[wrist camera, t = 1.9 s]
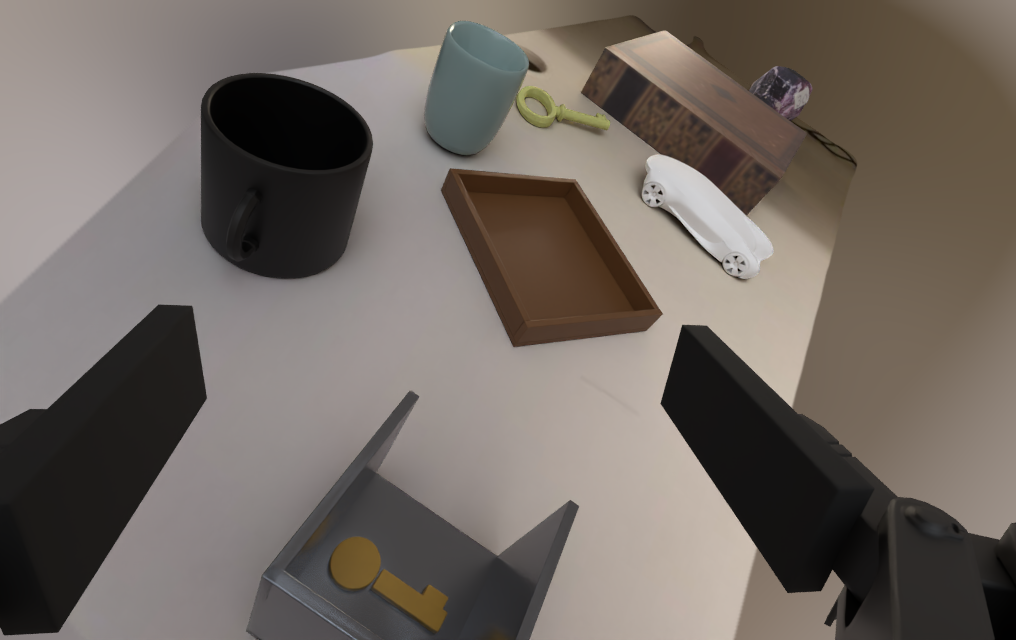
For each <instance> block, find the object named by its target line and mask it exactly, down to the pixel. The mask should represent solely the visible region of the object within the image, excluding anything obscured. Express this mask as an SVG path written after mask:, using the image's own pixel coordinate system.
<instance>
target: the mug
mask: <svg viewBox="0 0 1016 640" xmlns="http://www.w3.org/2000/svg"><path fill="white" fill-rule="evenodd" d="M372 148H373V140H372V134H371V131H370V129H369V127H368V125H367V123H366V122H365V120H364V119H363V118H362V116H361V115H360V114H359V113H358V112H357V111H356V110H355V109H354V108H353V107H352V106H350V105H349V104H348V103H347V102H345V101H344V100H343V99H341V98H339V97H338V96H336V95H335V94H333V93H331V92H329V91H327V90H325V89H323V88H321V87H318V86H316V85H314V84H311V83H308V82H305V81H302V80H299V79H295V78H291V77H287V76H282V75H276V74H266V73H249V74H240V75H235V76H231V77H227V78H225V79H222V80H220V81H218V82H217V83H215V84H213V85H212V86H211V87H210V88H209V89H208V90H207V92H206V93H205V95H204V97H203V99H202V104H201V222H202V228H203V231H204V234H205V236H206V237H207V239H208V241H209V242H210V244H211V245H212V246H213V248H214V249H215V250H216V251H217V252H218V253H219V254H220V255H221V256H223V257H224V258H225V259H226V260H228V261H229V262H231V263H233V264H234V265H236V266H238V267H240V268H242V269H244V270H247V271H249V272H252V273H255V274H259V275H263V276H268V277H275V278H299V277H305V276H310V275H313V274H316V273H319V272H321V271H323V270H325V269H327V268H328V267H330V266H332V265H333V264H334V263H335V262H336V261H337V260H338V259H339V258H340V257H341V256H342V254H343V253H344V251H345V249H346V246H347V242H348V239H349V235H350V231H351V227H352V224H353V220H354V216H355V213H356V209H357V205H358V201H359V198H360V194H361V190H362V186H363V183H364V179H365V175H366V172H367V168H368V164H369V160H370V157H371V153H372Z"/></svg>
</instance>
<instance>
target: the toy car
mask: <svg viewBox="0 0 1016 640" xmlns="http://www.w3.org/2000/svg"><path fill="white" fill-rule="evenodd" d="M645 168H646V172H647V173H648V175H647V176H646V178H645V180H644V184H643V190H642V199H643V201H644V202H645V203H646V204H647V205H648V206H650V207H658V206H659V207H661V208H663V209H665V210H667V211H668V212H670V213H671V214H673V215H674V216H675V217H677V218H678V219H679V220H680V221H681V222H682V224H683V225H684V226H685V227H686V228H687V229H688V231H689V232H690V233H691V234H692V235H693V236H694V237H695V239H696V240H697V241H698V242H699V243H700V244H701V245H702V246H703V247H704V248H705V249H706V250H707V251H708V252H709V253H710V254H711V255H713V256H714V257H715V258H716V259H717V260H719V261H720V262H722V261H723V268H724V270H725V271H726V272H727V273H728V274H730V275H732V276H738V277H739V278H742V279H749V278H752V277H754V276H756V275H757V274H758V273H759V272H760V261H762V260H764V259H767V258H768V257H770V256H771V255H772V254H773V252H774V249H773V245H772V243H771V242H770V240H769V239H768V237H767V236H766V235H765V234H764V233H763V232H762V230H761V229H760V228H759V227H758V226H757V225H756V224H755V223H754V222H753V221H752V220H750V219H749V218H748V217H747V216H746V215H745V214H744V213H743V212H742V211H741V210H740V209H739V208H738V207H737V206H736V205H735V204H734V203H733V202H732V201H731V200H730V199H729V198H728V197H727V196H725V195H724V194H723V193H722V192H721V191H720V190H719V189H718V188H717V187H716V186H715V185H714V184H713V183H712V182H711V181H710V180H709V179H707V178H706V177H705V176H704V175H702V174H701V173H700V172H698V171H697V170H695V169H693V168H692V167H690V166H688V165H686V164H684V163H682V162H680V161H678V160H676V159H673V158H671V157H668V156H665V155H653V156H651V157H649V158H648V159H647V163H646V165H645ZM652 185H656V186H655V188H654V190H653V188H652V187H651V186H652ZM660 190H661V191H662V193H663V195H660V194H659V193H658V192H659V191H660ZM647 192H648V193H649V194H647ZM653 192H654V193H653ZM650 199H651V200H650ZM656 199H658V200H659V201H660V202H659V203H656ZM734 256H738V258H737V259H736V260H735V258H734ZM723 259H724V260H723ZM727 260H728V261H729V262H730V263H727ZM734 262H735V263H734ZM731 268H733V269H731ZM738 268H739V269H740V270H742V271H738Z"/></svg>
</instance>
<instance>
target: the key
mask: <svg viewBox="0 0 1016 640" xmlns="http://www.w3.org/2000/svg"><path fill="white" fill-rule="evenodd" d="M525 97H532V98H535V99H537V100H539V101H540V102H541V103H542V104H543V105H544V106H545V108H546V110H547V112H548V116H541V115H537V114H535V113H533V112H532V111H531V110H530V109H529V108H528V107H527V106H526V104H525V101H524V100H525ZM516 101H517V107H518V109H519V111H520V113H521V115H522V116H523V117H524V118H525V119H526V120H527V121H528V122H529V123H531V124H533V125H535V126H538V127H548V126H550V125H551V124H552V122H553V121H554V119H555V117H557V120H558V121H561V120H562V119H566V120H570V121H574V122H577V123H581V124H585V125H589V126H592V127H596V128H600V129H604V130H608V128H609V126H610V121H609V120H606V117H605V115H601V114H599V113H597V114H596V117H595V116H591V115H587V114H584V113H580V112H576V111H573V110H569V109H566V107H565V105H564V104H562V105H560V107H558V106H555V103H554V101H553V99H552V98H551V96H550V95H549V94H548V93H546V92H545V91H544V90H542V89H540V88H537V87H533V86H527V87H524V88H523V89H521V90H520V92H519V93H518V94H517V97H516Z"/></svg>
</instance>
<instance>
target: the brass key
mask: <svg viewBox="0 0 1016 640" xmlns="http://www.w3.org/2000/svg"><path fill="white" fill-rule="evenodd" d="M380 564H381V559H380V554H379V551H378V549H377V547H376V546H375V545H374V544H373V543H372V542H371V541H370V540H368V539H366V538H363V537H351V538H348V539H346V540H344V541H342V542H341V543H340V544H339V545H338V546H337V547H336V548H335V550H334V551H333V553H332V555H331V557H330V560H329V574H330V577H331V579H332V581H333V582H334V583H335V584H336V585H337V586H338V587H339V588H341V589H343V590H346V591H359V590H362V589H364V588H365V587H367V586H368V585H369V584H371V582H372V581H373V580H374V579H375V578H376V576H377V574H378V572H379V569H380ZM371 590H372V591H373V592H375V593H376V594H378V595H379V596H381V597H382V598H383V599H385V600H386V601H388V602H389V603H391V604H392V605H394V606H395V607H396V608H398V609H399V610H401V611H402V612H404V613H405V614H407V615H408V616H409V617H411V618H412V619H414V620H415V621H417V622H418V623H420V624H421V625H422V626H424V627H425V628H427V629H428V630H430V631H431V632H433V633H434V634H436V633H437V632H439V630H440V628H441V626H442V624H443V622H444V620H445V618H446V616H447V612H446V611H445V610H443V608H444V606H445V604H446V602H447V600H448V597H447V596H446V595H444V594H443V593H441V592H440V591H438V590H437V589H435V588H434V587H433V586H431V585H428V586H427V587H426V588H425V590H424V591H423V593H422V594H420V593H419V592H417V591H416V590H414V589H413V588H411V587H410V586H409V585H407V584H406V583H404V582H403V581H401V580H400V579H398V578H397V577H396V576H394V575H393V574H391V573H390V572H388V571H387V570H385V569H383V570H382V571H381V573H380V575H379V576H378V578H377V579H376V581H375V582H374V584H373V586H372V587H371Z"/></svg>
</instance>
